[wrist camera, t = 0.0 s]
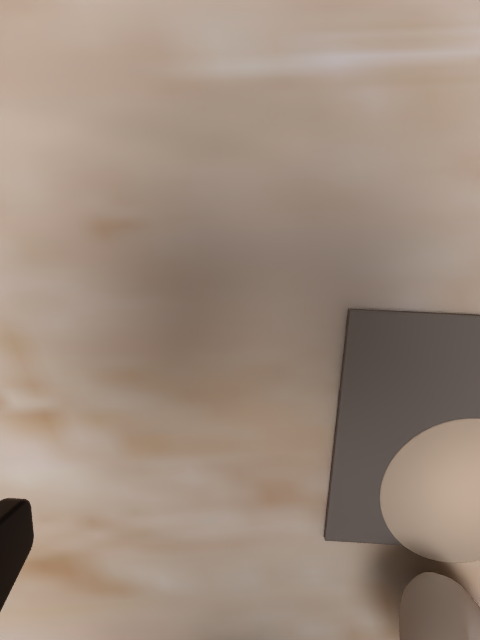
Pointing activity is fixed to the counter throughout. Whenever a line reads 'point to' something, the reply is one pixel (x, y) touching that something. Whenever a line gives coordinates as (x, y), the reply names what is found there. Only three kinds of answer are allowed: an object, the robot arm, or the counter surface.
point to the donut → (437, 610)
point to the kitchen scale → (408, 434)
